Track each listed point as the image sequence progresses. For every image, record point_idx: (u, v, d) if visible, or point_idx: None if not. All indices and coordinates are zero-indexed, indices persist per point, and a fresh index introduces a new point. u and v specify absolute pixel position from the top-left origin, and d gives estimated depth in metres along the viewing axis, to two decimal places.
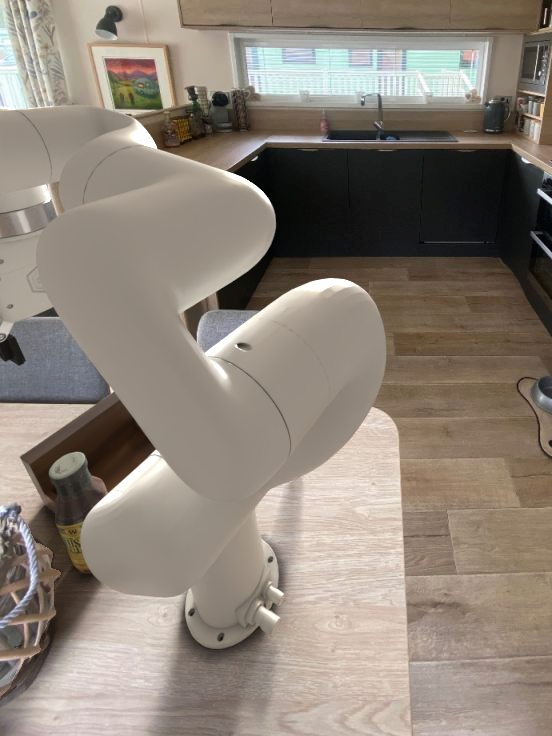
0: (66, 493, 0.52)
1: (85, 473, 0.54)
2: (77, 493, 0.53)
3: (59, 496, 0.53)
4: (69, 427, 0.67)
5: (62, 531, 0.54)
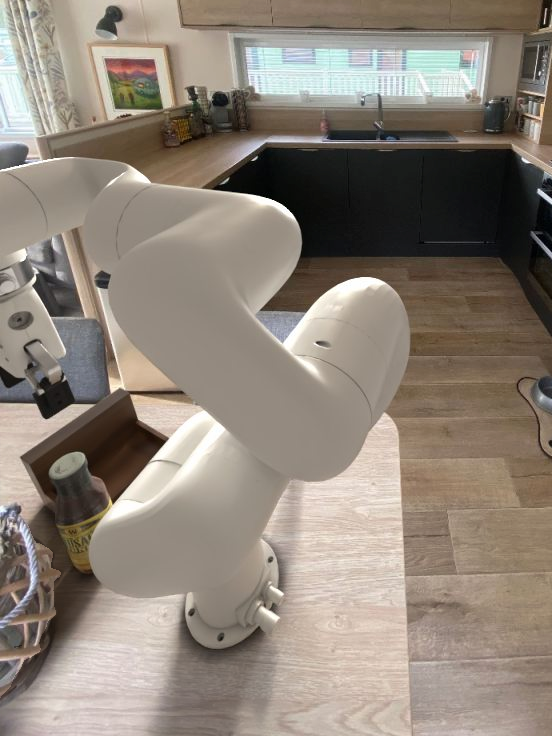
0: (66, 493, 0.52)
1: (85, 473, 0.54)
2: (77, 493, 0.53)
3: (59, 496, 0.53)
4: (69, 427, 0.67)
5: (62, 531, 0.54)
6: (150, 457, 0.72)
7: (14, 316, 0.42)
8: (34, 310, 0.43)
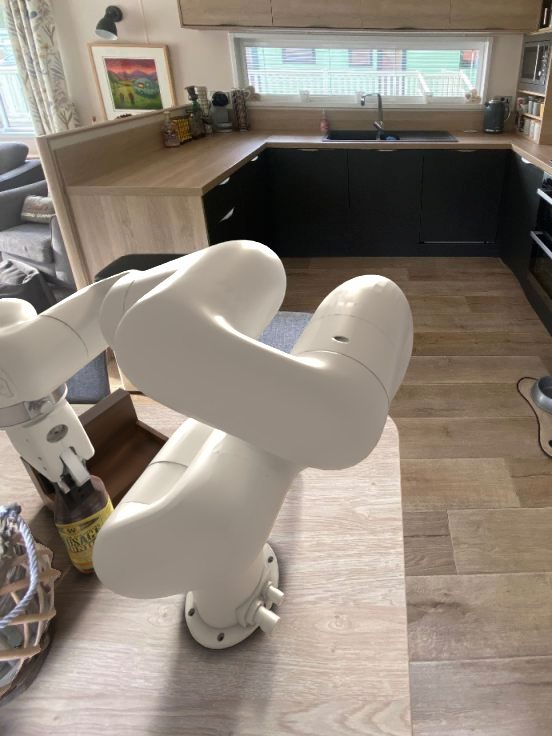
0: None
1: None
2: None
3: (57, 495, 0.53)
4: None
5: (61, 530, 0.54)
6: (150, 457, 0.72)
7: (50, 430, 0.47)
8: (68, 422, 0.48)
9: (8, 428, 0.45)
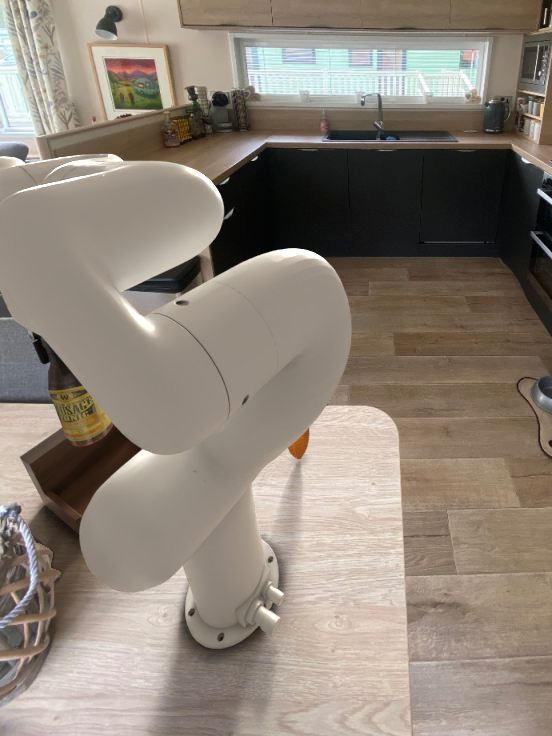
0: None
1: None
2: None
3: (51, 361, 0.56)
4: None
5: (54, 397, 0.57)
6: None
7: None
8: None
9: None
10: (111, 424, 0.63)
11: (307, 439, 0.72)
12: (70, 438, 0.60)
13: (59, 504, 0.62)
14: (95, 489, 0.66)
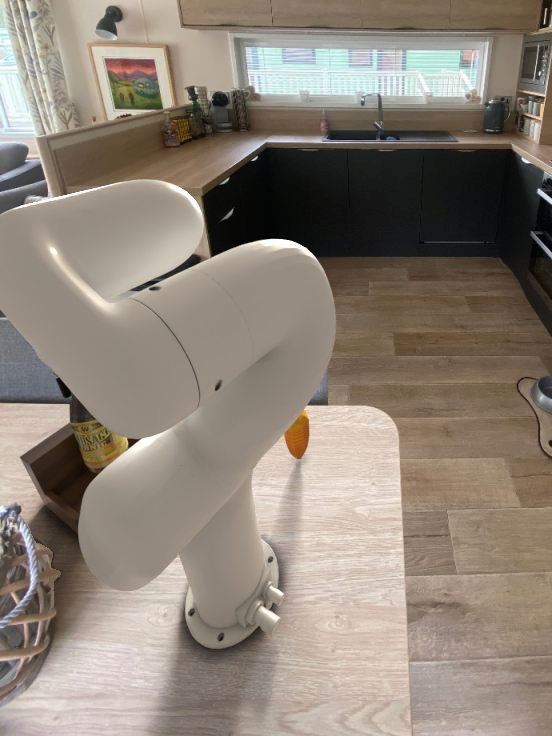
0: None
1: None
2: None
3: (73, 396, 0.60)
4: (69, 427, 0.67)
5: (76, 429, 0.61)
6: None
7: None
8: None
9: None
10: None
11: (307, 439, 0.72)
12: (89, 465, 0.64)
13: (59, 504, 0.62)
14: None
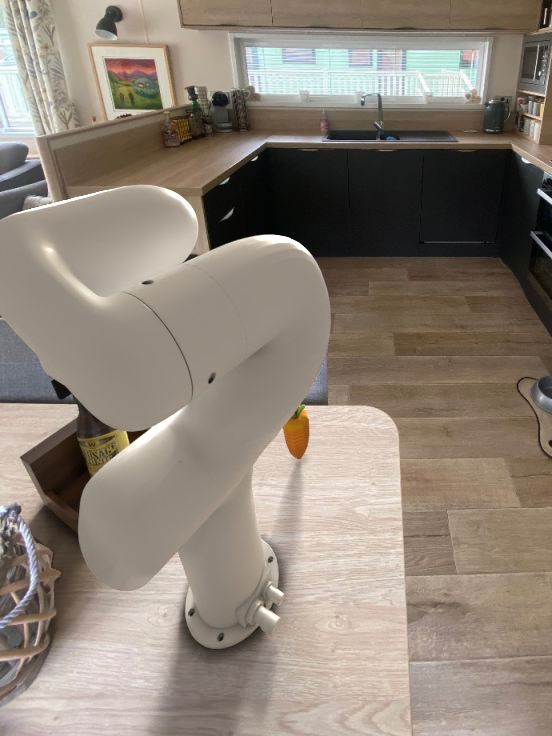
0: (86, 410, 0.61)
1: None
2: None
3: (80, 413, 0.61)
4: (69, 427, 0.67)
5: (83, 444, 0.62)
6: None
7: None
8: None
9: None
10: None
11: (307, 439, 0.72)
12: None
13: (59, 504, 0.62)
14: None
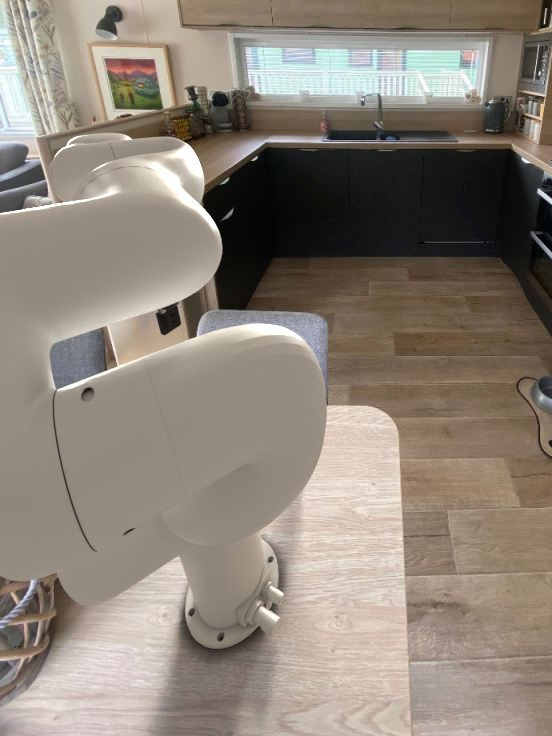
0: None
1: None
2: None
3: None
4: None
5: None
6: None
7: None
8: None
9: None
10: None
11: None
12: None
13: None
14: None
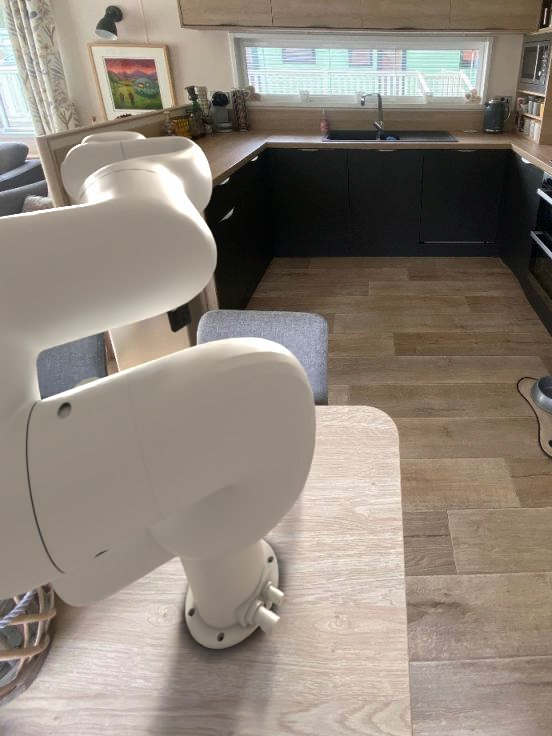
0: None
1: None
2: None
3: None
4: None
5: None
6: None
7: None
8: None
9: None
10: None
11: None
12: None
13: None
14: None
